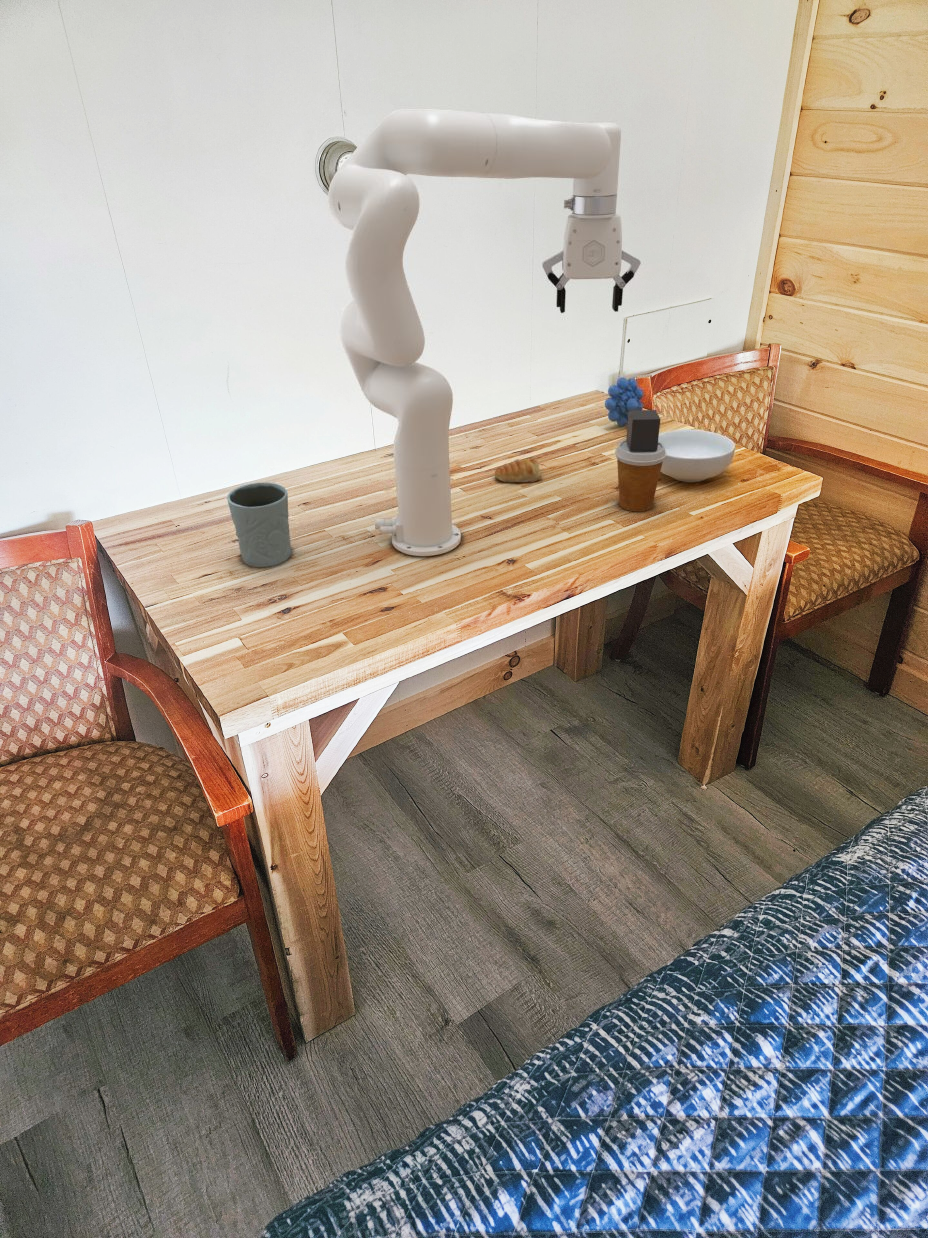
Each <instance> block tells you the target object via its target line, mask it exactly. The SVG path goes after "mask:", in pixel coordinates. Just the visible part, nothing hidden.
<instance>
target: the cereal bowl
mask: <svg viewBox="0 0 928 1238" xmlns="http://www.w3.org/2000/svg"><path fill="white" fill-rule="evenodd" d="M658 441H659V442H661V443H662V444H663V445H664V447H665V451H666V453H667V454H666V457H665V458H664V460H663V463H662V467H661V471H660V473H662V474H664V475H666V476H668V477H670V478H672V480H675V481H679V482H682V483H699V482H703V481H705V480H707V479H711V478H714V477H716V476H719V475H720V474H722V473H724V472H725V471H726V470H727V469H728V468H729V467H730V465H731V464H732V462H733V459H734V455H735V451H736V445H735V442H734V441H733V440H732V439H730V438H729V437H727V436H725V435H722V434H720V433H718V432H717V433H716V432H714V431H709V430H702V429H674V430H668V431H665V432H662V433H659V438H658Z"/></svg>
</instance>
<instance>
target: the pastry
mask: <svg viewBox="0 0 928 1238" xmlns="http://www.w3.org/2000/svg"><path fill="white" fill-rule="evenodd" d="M541 474H542V473H541V468H540V465H539V462H538V460H537V458H535V457H530V458H519V459H518V458H517V459H514V460H513V461H511V462H508V463H504V464H502V465H501V466H498V467H497V468H495V471H494V477H495V478H496V479H497V480H499V481H501V482H503V483H514V484H515V483H527V482H530V483H534V482H537V481H539V480H540V479H541V478H542V477H541V476H542V475H541Z"/></svg>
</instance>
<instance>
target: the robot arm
mask: <svg viewBox="0 0 928 1238" xmlns="http://www.w3.org/2000/svg"><path fill="white" fill-rule="evenodd" d="M621 141H622V130H621V127H620V126H619V124H618V123H615V122H611V121H610V122H609V121H604V122H603V121H600V122H599V121H597V122H576V121H563V120H551V119H543V118H533V117H528V116H527V117H526V116H522V115H521V116H520V115H515V114H505V113H495V112H482V111H481V112H480V111H467V110H459V109H458V110H457V109H446V108H429V107H428V108H398V109H395V110H392V111H391V112H390V113H388V114H387V115H385V116H384V117H383V118H382V119H381V120H380V121H379V122H378V123H377V124H376V126H374V127H373V129H372V130H370V132H369V133H368V134H367V135H366V137H365V138H364V139H363V140H362V141H361V143H359V144H358V146H357V147H356V149H354V151H353V152H352V153H351V154H350V155H349V156H348V158H347V159H346V160H345V161H344V162H343V163H342V165H340V167H339V168H338V169H337V170H336V172H335V174H334V175H333V177H332V179H331V181H330V184H329V187H328V191H327V192H328V193H327V203H328V207H329V211H330V213H331V215H332V217H333V218H334V220H336V222H337V223H338V224H340V225H341V226H342V227H343V228H346V229H349V230H350V231H352V234H351V237H350V240H349V243H348V246H347V250H346V255H345V265H344V267H345V269H344V271H345V277H346V281H347V284H348V288H349V291H350V295H351V297H352V298H350V299H349V300H348V301H346V304H345V305H344V306H343V308H342V310H341V313H340V317H339V323H338V329H339V330H338V331H339V337H340V341H341V344H342V347H343V349H344V352H345V354H346V357H347V359H348V361H349V364H350V367H351V368H352V371H353V373H354V375H355V378H356V380H357V383H358V385H359V387H360V390H361V391H362V393H363V395H364V397H365V399H366V400H367V401H368V403H370V404H371V405H372V406H373V407H374V408H376V409H378V410H379V411H381V412H382V413H385V414H388V415H390V416H392V417H394V418H395V419H397V429H396V433H395V436H394V438H393V445H392V446H393V447H392V448H393V449H392V450H393V451H392V453H393V464H394V474H395V487H396V498H397V500H396V501H397V516H392V517H391V518H375V519H374V529H375V530H379V533H380V535H388V534H389V535H390V534H391V544H392V546H393V547H394V548H395V550H397V551H398V552H401V553H403V554H406V555H409V556H415V557H432V556H433V557H434V556H437V555H438V556H439V555H443V554H445V553H448V552H451V551H452V550H454V549H455V548H457V547H458V546H459V545H460V543H461V540H462V532H461V530H460V529H459V528H458V526H456V525H454V524H453V519H452V518H453V517H452V516H453V515H452V513H453V512H452V491H451V490H452V489H451V488H452V487H451V466H450V465H451V462H450V461H451V460H450V425H451V418H452V411H453V405H454V404H453V403H454V396H453V395H454V394H453V390H452V387H451V385H450V383H449V381H448V380H447V378H446V377H445V376H444V375H443V374H442V373H440V371H438V370H436V369H435V368H433V367H430V366H428V365H425V364H422V363H419V362H418V360H419V359H420V358H421V357H422V355H423V352H424V349H425V346H426V345H425V344H426V339H425V332H424V327H423V325H422V322H421V319H420V316H419V314H418V313H419V312H418V310H417V308H416V305H415V301H414V299H413V296H412V293H411V290H410V287H409V285H408V281H407V277H406V273H405V269H404V261H403V260H404V259H403V258H404V252H405V248H406V244H407V241H408V239H409V237H410V235H411V234H412V233H411V232H412V230H413V229H414V226H415V224H416V222H417V220H418V217H419V213H420V204H421V203H420V195H419V191H418V188H417V186H416V185H415V183H414V181H413V180H412V179H411V178H410V177H409V176H407V175H416V176H426V177H437V178H439V177H441V178H442V177H443V178H478V179H479V178H480V179H506V180H514V179H515V180H516V179H530V178H531V179H532V178H547V179H548V178H549V179H551V178H552V179H572V194H571V197H570V198H567V199H563V209H567V210H570V212H571V214H569V215H568V216H567V219H566V223H565V231H564V235H563V245H562V250H561V251H559V252H558V253H556V254H554V255H553V256H551V257H549V258H548V259H545V260H544V261H543V262H542V263H541V266H542V268H543V271H544V273H545V275H546V277H547V280H548V281H549V282H550V283H551V284H552V285H553V286H554V288H556V304H555V305H556V308H559V311H560V312H559V313H561V314H564V313H565V312H566V297H567V296H566V294H567V293H566V292H567V291H566V288H565V286H566V284H568V282H569V281H570V280H602V279H603V280H606V279H612V280H613V281H614V282H615V283H614V285H613V287H612V289H613V290H612V302H611V303H612V304H611V308H612V310H613V311H614V312H615V313H617V312H619V307H622V305H623V295H624V288H625V287H626V286H627V284H628V283H629V282H630V281H631V280H633V278H634V277H635V274H636V273H637V271H638V269H639V268H640V266H641V264H642V263H641V260H640V259H639V258H637V257H635V256H633V255H631V254H630V253H628V252H626V251H624V250H623V228H622V218H621V215H620V214H618V213H617V203H618V202H617V201H618V188H619V187H618V186H619V171H620V156H621ZM622 261H624V262H625V263H627V264H629V267H628V269H627V270H626V271H625V272H624V274H622V275H620V274H621V270H622ZM560 262H561V269H562V273H561V274H560V275H559V277H558V276H557V275H556V274H555V273H554V271H553V269H552V268H553V267H554V266H555V265H557V264H558V263H560Z"/></svg>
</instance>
